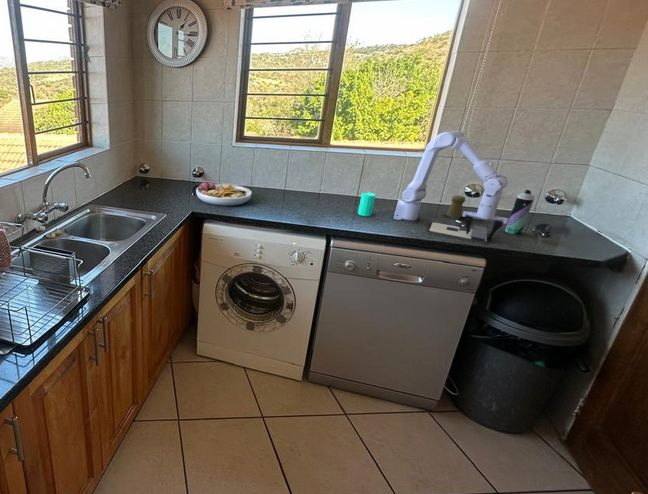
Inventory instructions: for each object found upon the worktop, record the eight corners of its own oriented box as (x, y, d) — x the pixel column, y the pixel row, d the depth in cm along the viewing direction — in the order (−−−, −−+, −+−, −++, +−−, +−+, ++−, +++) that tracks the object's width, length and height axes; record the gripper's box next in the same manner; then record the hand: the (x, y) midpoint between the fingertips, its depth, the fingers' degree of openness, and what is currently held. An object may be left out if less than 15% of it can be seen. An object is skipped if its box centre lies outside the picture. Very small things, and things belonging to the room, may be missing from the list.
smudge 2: (458, 229, 178) (459, 228, 178) (459, 228, 181) (459, 227, 180) (470, 232, 176) (470, 230, 176) (470, 230, 178) (470, 229, 178)
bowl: (257, 196, 227) (259, 183, 224) (240, 211, 203) (241, 196, 200) (208, 189, 242) (209, 176, 239) (186, 201, 218) (187, 187, 215)
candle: (370, 213, 202) (375, 190, 197) (371, 216, 197) (376, 193, 192) (357, 211, 204) (362, 188, 200) (357, 215, 199) (362, 191, 195)
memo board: (428, 232, 178) (429, 230, 177) (432, 224, 188) (432, 222, 188) (485, 244, 166) (486, 241, 166) (486, 234, 176) (486, 232, 176)
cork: (463, 219, 194) (469, 198, 190) (449, 219, 195) (455, 197, 191) (456, 215, 199) (463, 194, 195) (443, 215, 200) (449, 193, 196)
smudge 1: (446, 229, 179) (446, 228, 179) (446, 227, 181) (447, 226, 181) (457, 231, 176) (457, 230, 176) (457, 229, 179) (458, 228, 178)
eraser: (484, 241, 166) (487, 233, 165) (470, 239, 168) (473, 231, 167) (484, 235, 172) (487, 227, 171) (471, 232, 175) (474, 225, 174)
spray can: (500, 231, 179) (516, 188, 172) (512, 231, 180) (528, 188, 172) (512, 236, 174) (528, 192, 167) (523, 236, 175) (540, 191, 167)
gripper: (466, 203, 166) (456, 234, 171) (511, 210, 158) (500, 242, 163) (467, 200, 172) (457, 229, 177) (511, 206, 163) (500, 237, 168)
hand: (478, 235), depth 170 cm, fingers open, 7 cm apart
